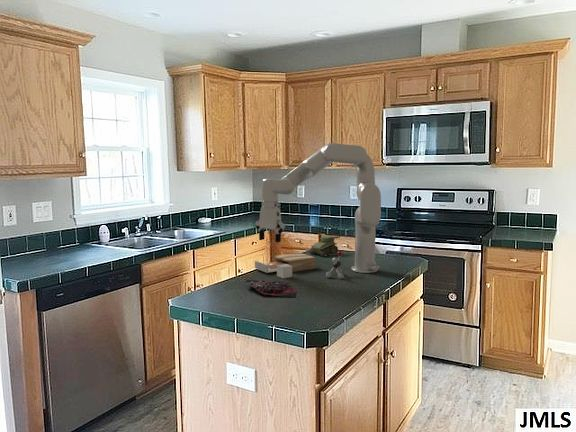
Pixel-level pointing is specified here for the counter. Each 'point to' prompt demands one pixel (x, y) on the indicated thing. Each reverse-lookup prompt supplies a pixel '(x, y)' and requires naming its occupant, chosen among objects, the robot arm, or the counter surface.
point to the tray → (264, 267)
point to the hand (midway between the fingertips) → (269, 240)
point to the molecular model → (336, 266)
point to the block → (284, 270)
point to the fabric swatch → (273, 288)
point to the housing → (297, 261)
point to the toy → (325, 246)
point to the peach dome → (273, 265)
